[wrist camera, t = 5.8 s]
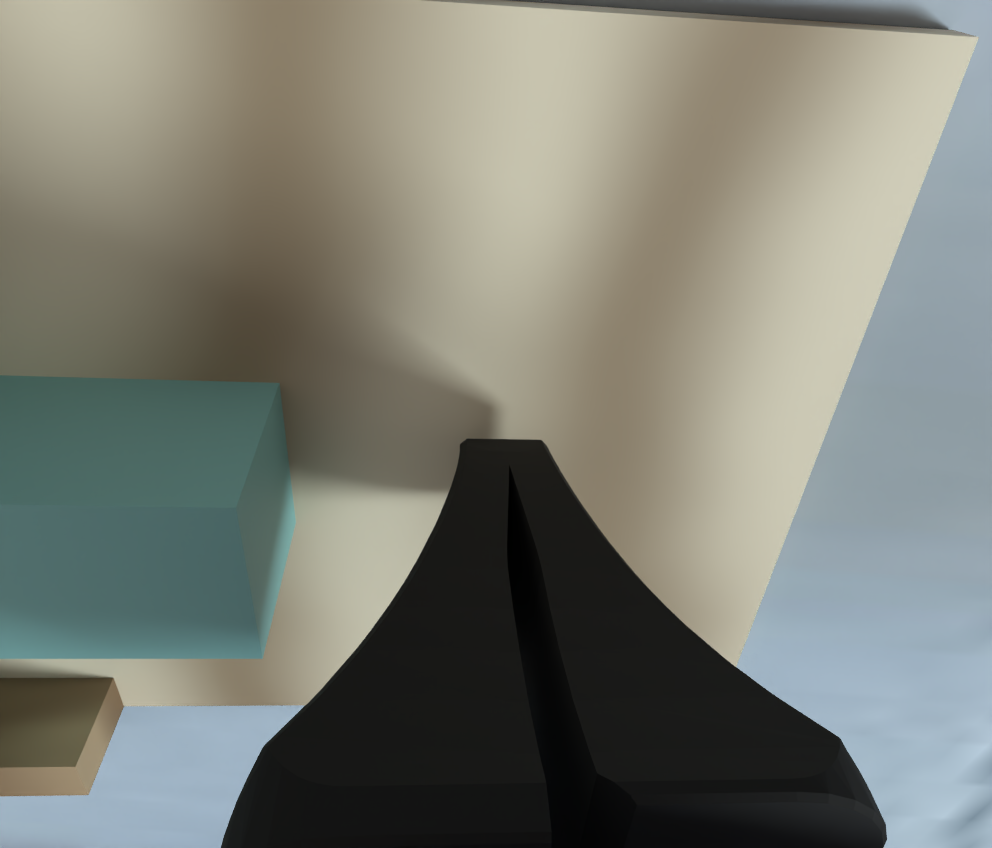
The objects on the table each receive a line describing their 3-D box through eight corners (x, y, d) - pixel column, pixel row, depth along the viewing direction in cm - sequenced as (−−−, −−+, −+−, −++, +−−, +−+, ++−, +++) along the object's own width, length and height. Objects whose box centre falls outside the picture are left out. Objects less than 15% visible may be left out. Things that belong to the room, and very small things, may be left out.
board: (953, 30, 10) (1087, 66, 8) (714, 681, 18) (749, 785, 16) (-718, -82, 9) (-1102, -73, 6) (-173, 683, 17) (-264, 799, 14)
